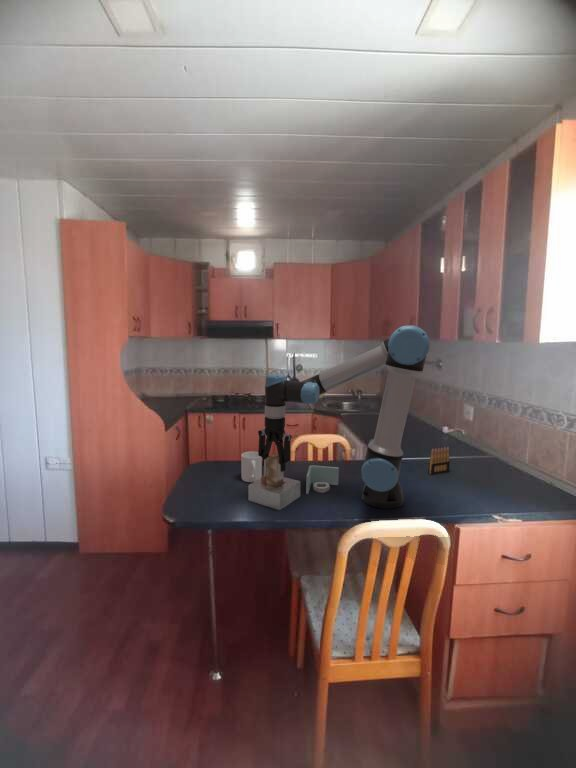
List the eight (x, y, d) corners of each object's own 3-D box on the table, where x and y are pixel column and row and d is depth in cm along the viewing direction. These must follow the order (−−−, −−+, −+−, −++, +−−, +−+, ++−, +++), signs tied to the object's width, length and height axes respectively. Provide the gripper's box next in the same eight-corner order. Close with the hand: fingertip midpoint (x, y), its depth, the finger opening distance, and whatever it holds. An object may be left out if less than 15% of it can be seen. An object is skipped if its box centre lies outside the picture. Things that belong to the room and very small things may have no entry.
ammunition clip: (431, 475, 163) (432, 449, 162) (428, 473, 165) (429, 447, 163) (449, 472, 167) (451, 446, 166) (446, 470, 169) (448, 445, 167)
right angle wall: (305, 494, 142) (306, 475, 141) (309, 482, 154) (309, 465, 153) (337, 497, 140) (337, 478, 139) (338, 484, 152) (338, 467, 151)
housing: (300, 496, 140) (300, 476, 139) (279, 510, 128) (279, 488, 127) (270, 487, 147) (270, 468, 146) (248, 500, 135) (248, 479, 134)
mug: (244, 486, 148) (243, 461, 147) (240, 475, 159) (240, 452, 158) (264, 484, 150) (265, 459, 149) (259, 474, 162) (259, 450, 160)
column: (283, 497, 138) (283, 456, 136) (276, 502, 134) (276, 460, 132) (273, 494, 141) (273, 454, 139) (265, 499, 137) (266, 457, 135)
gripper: (302, 418, 132) (300, 479, 135) (260, 411, 142) (260, 468, 145) (290, 422, 126) (289, 486, 129) (248, 414, 136) (247, 474, 139)
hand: (273, 477), depth 137 cm, fingers open, 6 cm apart
